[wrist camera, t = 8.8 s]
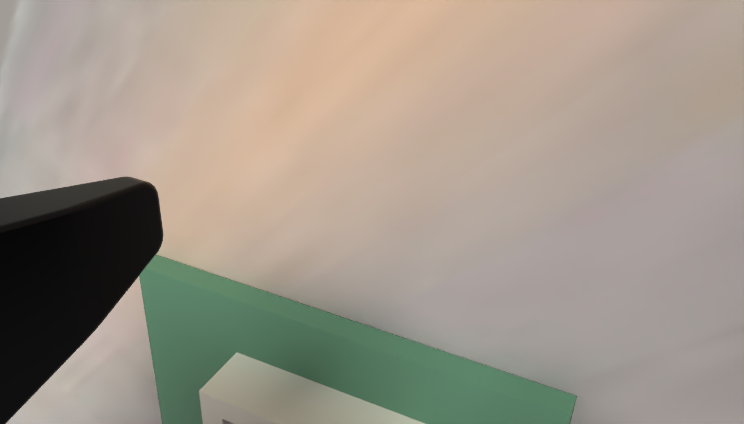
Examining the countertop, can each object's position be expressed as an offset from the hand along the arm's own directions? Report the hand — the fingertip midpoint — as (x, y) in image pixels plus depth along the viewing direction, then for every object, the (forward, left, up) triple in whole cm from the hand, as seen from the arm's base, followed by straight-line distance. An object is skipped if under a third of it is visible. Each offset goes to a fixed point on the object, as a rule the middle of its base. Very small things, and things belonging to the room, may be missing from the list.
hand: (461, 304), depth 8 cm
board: (+8, +19, -12) cm, 24 cm away
